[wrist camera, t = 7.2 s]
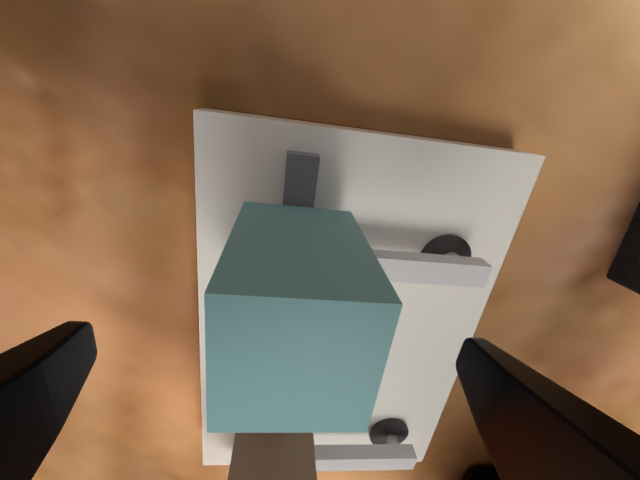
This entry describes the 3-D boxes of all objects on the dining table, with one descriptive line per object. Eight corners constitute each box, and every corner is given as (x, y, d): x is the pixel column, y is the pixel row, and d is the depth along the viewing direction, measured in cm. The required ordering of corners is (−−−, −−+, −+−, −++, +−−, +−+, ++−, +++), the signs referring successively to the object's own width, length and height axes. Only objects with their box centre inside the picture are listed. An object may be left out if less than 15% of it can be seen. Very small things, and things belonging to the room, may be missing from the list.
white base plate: (411, 432, 23) (469, 590, 15) (210, 433, 21) (168, 612, 14) (514, 149, 15) (732, 196, 8) (206, 108, 13) (100, 118, 6)
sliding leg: (457, 298, 15) (570, 432, 9) (242, 285, 14) (207, 432, 8) (485, 220, 13) (645, 318, 7) (246, 196, 12) (204, 293, 6)
